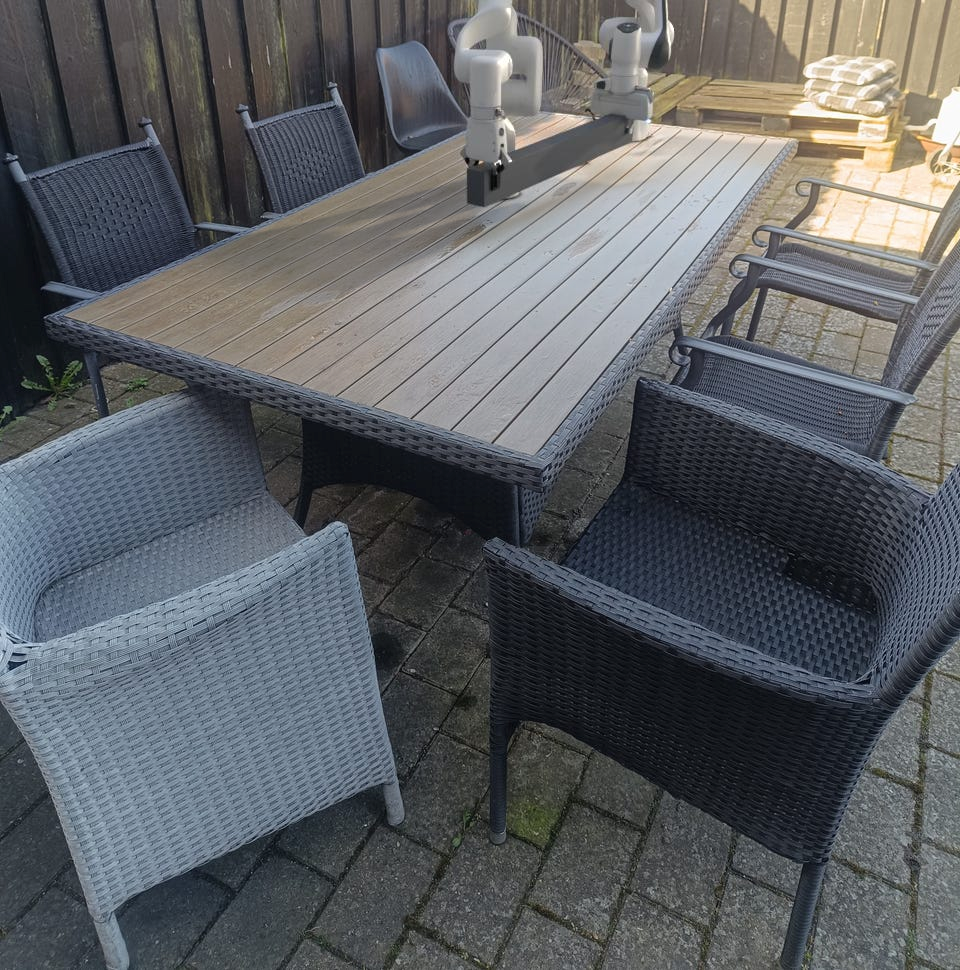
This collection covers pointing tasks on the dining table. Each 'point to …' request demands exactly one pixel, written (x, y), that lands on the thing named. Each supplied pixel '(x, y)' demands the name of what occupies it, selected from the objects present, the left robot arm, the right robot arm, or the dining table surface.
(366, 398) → the dining table surface
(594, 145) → the beam
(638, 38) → the right robot arm
